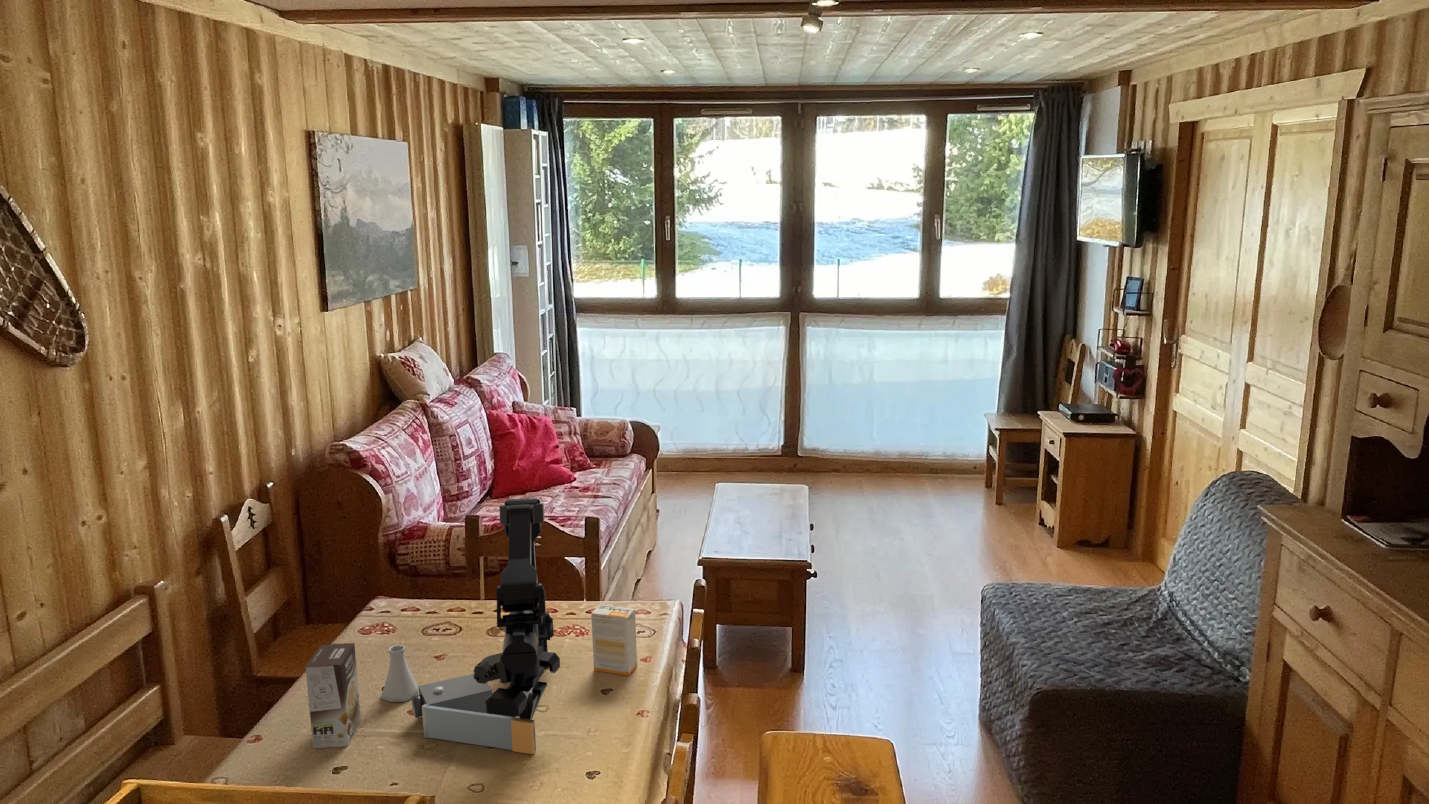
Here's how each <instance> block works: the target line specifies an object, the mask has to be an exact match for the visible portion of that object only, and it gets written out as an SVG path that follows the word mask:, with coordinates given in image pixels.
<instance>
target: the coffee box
mask: <svg viewBox="0 0 1429 804" xmlns="http://www.w3.org/2000/svg"><path fill="white" fill-rule="evenodd" d="M357 669H358V668H357V659H356V648H355V643H353V642H350V643H349V642H348V643H331V644H321V645H320V646H319V648H318V649H317V650H316V651H315V653H314V654H313V655H312V656H311V657H310V659H309V661H308V662H307V664H306V665H305V674H306V676H305V677H306V686H307V695H308V708H309V717H310V727H311V738H312V748H313V749H323V748H325V749H326V748H343V747H345V748H346V747H348V746H349V744H350V742H351V740H352V739H353V736H354V735H355V733H356V731H357V729H358V727H359V726H360V724H361V721H362V719H361V706H360V694H359V693H360V692H359V681H358V671H357Z"/></svg>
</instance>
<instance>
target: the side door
mask: <svg viewBox="0 0 1429 804" xmlns="http://www.w3.org/2000/svg"><path fill="white" fill-rule="evenodd" d="M422 717H423V719H422V729H423V737H424V738H425V739H427V738H428V739H437V740H442V741H443V740H444V741H450V742H456V743H464V744H470V745H478V746H483V747H489V748H490V747H491V748H498V749H504V750H509V751H510V750H511V751H512V752H515V753H522V754H527V755H528V754H529V755H534V754H535V753H536V751H537V743H536V740H537V739H536V722H535V721H536V720H535V719H532V720H530V719H523V718H519V717H509V716H502V715H495V714H487V713H480V712H472V711H465V710H458V709H451V708H443V707H436V706H429V705H423V706H422ZM422 717H421V718H422Z"/></svg>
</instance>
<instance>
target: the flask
mask: <svg viewBox="0 0 1429 804" xmlns="http://www.w3.org/2000/svg"><path fill="white" fill-rule="evenodd" d="M406 648H407V647H406V646H405V645H403V644H394V645H392V646H390V647H388V650H387V652H388V654H389V658H390V660H389V669H388V673H387V676H386V679H385V683H384V685H383V690H382V693H381V696H380V699H381V700H384V701H387V702H389V703H400V702H401V703H403V702H408V701H409V700H412V696H416V695H419V686H420V685H419V684H418V682H417V680H416V679H415V677H414V675H413V673H412V671H411V669H410V667H409V665H408V663H407V659H406V655H405V650H406Z"/></svg>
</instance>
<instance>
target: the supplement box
mask: <svg viewBox="0 0 1429 804" xmlns="http://www.w3.org/2000/svg"><path fill="white" fill-rule="evenodd" d="M590 614H591V615H590V617H591V633H592V634H591V637H592V655H593V656H592V657H593V671H595V670H597V671H596V672H603V673H608V674H609V673H610V674H615V673H616V674H617V675H622V676H627V677H628V676H630V675H631V674H632V673H633V672H634V670H635V669H636V668H637V667H638V652H637V648H638V647H637V628H636V627H637V624H636V608H630V607H629V608H628V607H621V606H616V605H615V606H614V605H606V604H600V605H598V606H597V607H596V608H595V609H594V610H593V611H591V613H590ZM631 672H632V673H631ZM630 673H631V674H630Z"/></svg>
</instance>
